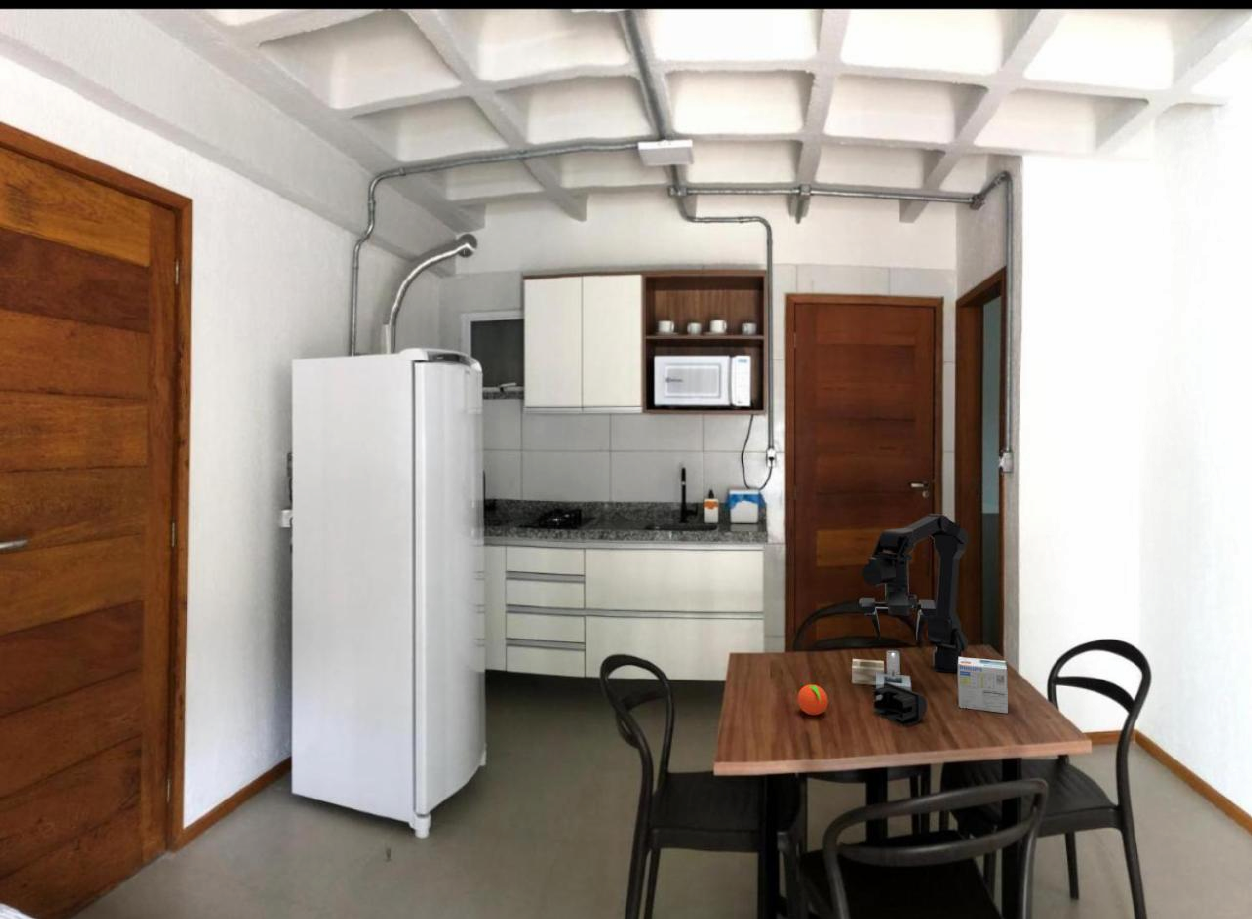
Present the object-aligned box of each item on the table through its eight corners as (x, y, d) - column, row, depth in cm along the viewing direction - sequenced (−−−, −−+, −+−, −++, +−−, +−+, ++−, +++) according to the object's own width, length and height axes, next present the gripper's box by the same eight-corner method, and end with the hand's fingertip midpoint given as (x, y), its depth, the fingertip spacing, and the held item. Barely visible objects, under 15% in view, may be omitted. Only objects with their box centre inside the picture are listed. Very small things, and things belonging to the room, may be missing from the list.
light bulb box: (1007, 704, 174) (1006, 660, 174) (1008, 714, 168) (1008, 668, 167) (958, 698, 178) (957, 655, 178) (957, 708, 172) (957, 663, 172)
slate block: (909, 691, 184) (909, 676, 184) (911, 702, 176) (911, 686, 176) (876, 688, 187) (876, 673, 186) (876, 699, 179) (876, 683, 179)
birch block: (884, 675, 196) (883, 661, 196) (884, 685, 189) (884, 670, 189) (853, 673, 199) (852, 658, 199) (852, 683, 191) (852, 668, 191)
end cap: (928, 721, 165) (927, 692, 165) (906, 728, 162) (905, 698, 162) (893, 707, 174) (892, 679, 174) (871, 713, 171) (871, 685, 170)
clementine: (835, 720, 167) (834, 690, 167) (806, 723, 166) (806, 692, 166) (820, 707, 175) (819, 678, 175) (793, 710, 174) (792, 680, 173)
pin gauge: (899, 690, 182) (899, 650, 182) (899, 694, 179) (899, 654, 179) (886, 689, 183) (886, 650, 183) (887, 693, 180) (886, 653, 180)
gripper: (858, 586, 181) (860, 647, 182) (939, 587, 176) (940, 651, 176) (858, 576, 192) (860, 634, 193) (934, 577, 186) (936, 637, 187)
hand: (898, 639), depth 187 cm, fingers open, 9 cm apart
